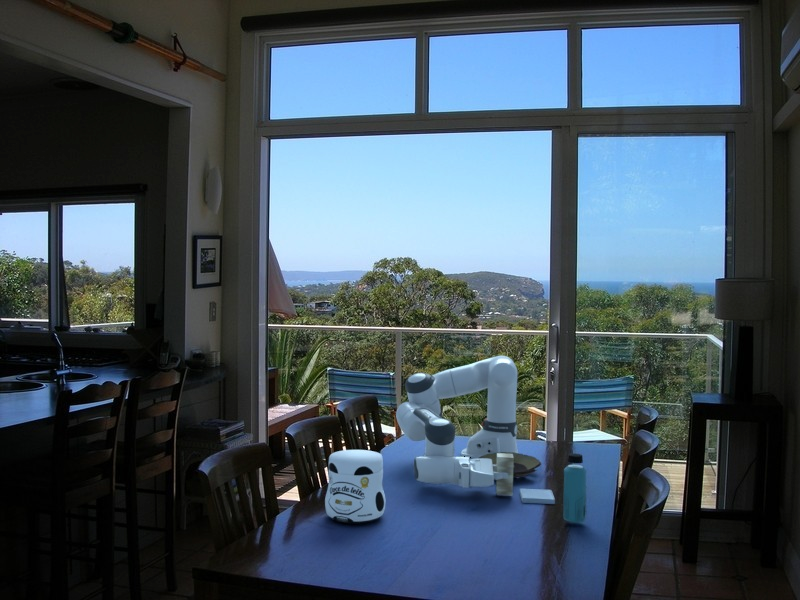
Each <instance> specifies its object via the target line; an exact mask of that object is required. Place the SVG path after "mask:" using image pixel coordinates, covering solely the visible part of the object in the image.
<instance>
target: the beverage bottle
mask: <svg viewBox="0 0 800 600" xmlns="http://www.w3.org/2000/svg"><path fill="white" fill-rule="evenodd" d="M567 456H568V457H567V463H568V462H569V463H570V464H568V465H566V467H565V468H563V507H562V517H563V519H564V520H565V521H567V522H570V523H578V524H579V523H583V522H586V519H587V493H588V492H587V469H585V467H584V466H582V465H579V464H582V463H583V461H584V460H583V454H582V453H581V454H580V453H576V452H575V453H573V452H572V453H568V455H567Z"/></svg>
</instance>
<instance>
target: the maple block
mask: <svg viewBox="0 0 800 600" xmlns="http://www.w3.org/2000/svg"><path fill="white" fill-rule="evenodd" d="M513 459H514V458H513V454H505V453H497V471H496V472H508V478H507V479H504V478H502V479H498V480H495V481H496V483H495V491H496V496H513V494H514V478H513Z"/></svg>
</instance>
